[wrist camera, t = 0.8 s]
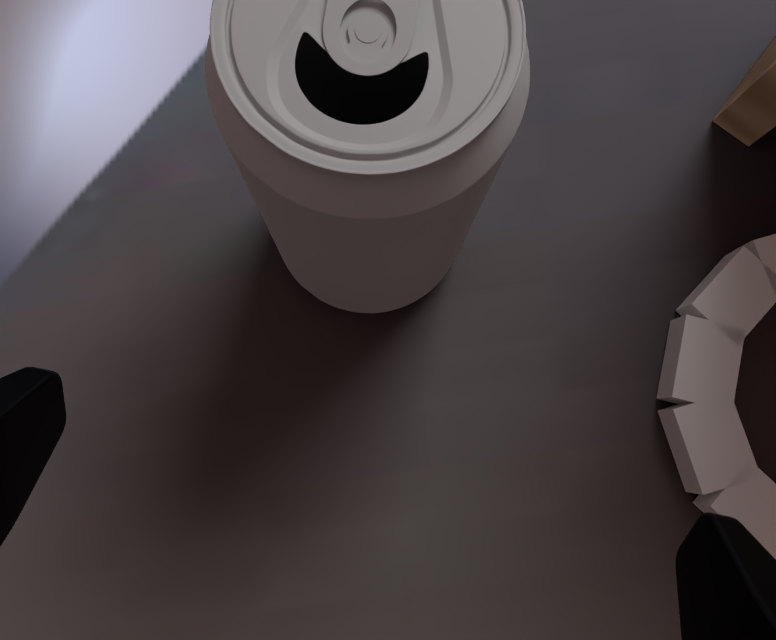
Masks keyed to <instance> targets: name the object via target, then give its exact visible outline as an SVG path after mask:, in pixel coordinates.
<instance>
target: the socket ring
mask: <svg viewBox="0 0 776 640" xmlns="http://www.w3.org/2000/svg"><path fill="white" fill-rule="evenodd" d="M775 303H776V234H773V235H770V236H766V237H763V238H759V239H755V240H753V241H751V242H749V243H747V244H745V245H743V246H741V247H739V248H737V249H735V251H733V252H731V253H729V254H727V255H725V256H724V257H723V258H722V259H721V261H720V262H719V263H718V264H717V265H716V266H715V267H714V268H713V269H712V270H711V272H710V273H709V274H708V275H707V276H706V277H705V278H704V279H703V280H702V282H701V283H700V284H699V285H698V286H697V287H696V288H695V289H694V290H693V291H692V293H691V294H690V295H689V296H688V297H687V298H686V299H685V300H684V301H683V303H682V304H681V305H680V306H679V307H678V308H677V309H676V310H675V311H676V312H677V313H678V314H680V315H681V317H678V318H676V319H673V320H670V326H669V331H668V337H667V342H666V348H665V353H664V359H663V364H662V370H661V376H660V381H659V387H658V392H657V398H656V399H660V400H663V401H667V402H671V403H675V404H678V405H674V406H671V407H668V408H664V409H661V410H657V411H658V414H659V417H660V420H661V423H662V425H663V428H664V431H665V434H666V437H667V440H668V443H669V446H670V449H671V451H672V454H673V457H674V460H675V463H676V466H677V469H678V472H679V475H680V477H681V480H682V483H683V486H684V489H685V492H689V493H695V494H699V495H698V496H697V498H696V499H695V500H694V501H693V502H692V503H693V504H695V505H696V506H697V507H698V508H699V509H700V510H701V511H702V512H703V513H706V512H711V513H716V514H720V515H725V516H730V517H733V518H735V519H737V520H738V521H739V522H740V523H742V524H743V526H744V527H745V528H746V529H747V530H748V531H749V532H750V533H751V534H752V535H753V536H754V537H755V538H756V539H757V540H758V541H759V542H760V543H761V545H762V546H763V547H764V548H765V549H766V550H767V551H768V552H769V553H770V554H771V555H772V556H773V557H774V558H775V559H776V484H775V483H774V482H773V481H772V480H771V479H770V478H769V477H768V476H767V475H766V474H765V473H764V472H762V471H761V470H760V469H759V468H758V467H757V464H756V461H755V458H754V456H753V453H752V450H751V448H750V445H749V442H748V439H747V437H746V434H745V431H744V428H743V426H742V423H741V420H740V417H739V415H738V412H737V409H736V406H735V404H734V398H735V392H736V386H737V380H738V373H739V367H740V361H741V355H742V348H743V342H744V338H745V337H746V336H747V335H748V334H749V332H750V331H751V330H752V329H753V328H754V327H755V326H756V325H757V323H758V322H759V321H760V320H761V319H762V318H763V317H764V315H765V314H766V313H767V312H768V311H769V310H770V309H771V307H772V306H773V305H774V304H775Z"/></svg>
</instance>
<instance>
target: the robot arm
mask: <svg viewBox="0 0 776 640" xmlns="http://www.w3.org/2000/svg"><path fill="white" fill-rule="evenodd" d="M65 423H66V410H65V402H64V394H63V387H62V380H61V377H60V376H59V374H58V373H56V372H54V371H50V370H45V369H41V368H36V367H25V368H23V369H20V370H18V371H15V372H13V373H11V374H9V375H6V376H4V377H2V378H0V546H1V545H2V543H3V542H4V540H5V538H6V537H7V535H8V534H9V532H10V531H11V529H12V527H13V526H14V524H15V522H16V520H17V518H18V517H19V515H20V513H21V511H22V509H23V507H24V505H25V504H26V502H27V500H28V498H29V496H30V494H31V492H32V490H33V488H34V486H35V484H36V483H37V481H38V479H39V477H40V475H41V473H42V471H43V469H44V467H45V465H46V463H47V462H48V460H49V458H50V456H51V454H52V452H53V450H54V448H55V446H56V444H57V442H58V441H59V439H60V437H61V435H62V433H63V430H64V427H65ZM676 578H677V590H678V602H679V614H680V625H681V637H682V640H776V559H775V558H774V557H773V556H772V555H771V554H770V553H769V552H768V551H767V550H766V549H765V548H764V547H763V546H762V545H761V543H760V542H759V541H758V540H757V539H756V538H755V537H754V536H753V535H752V534H751V533H750V532H749V531H748V530H747V529H746V528H745V527H744V526H743V524H742V523H740V522H739V521H738V520H737V519H735V518H733V517H730V516H725V515H720V514H716V513H711V512H706V513H704V514H702V515H700V517H699V518H698V519H697V521H696V522H695V524H694V525H693V527H692V528H691V530H690V532H689V533H688V535H687V536H686V538H685V539H684V541H683V542H682V544H681V545H680V547H679V549H678V552H677V555H676Z"/></svg>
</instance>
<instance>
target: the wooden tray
mask: <svg viewBox="0 0 776 640" xmlns="http://www.w3.org/2000/svg"><path fill="white" fill-rule="evenodd" d="M713 122H714V123H716V124H717V125H719V126H720V127H721V128H723V129H724V130H726V131H727V132H728V133H730V134H731V135H733V136H734V137H735V138H737V139H738V140H740V141H741V142H742V143H744V144H745V145H747V146H748V147H749V146H750V145H751V144H753V143H754V142H755V141H757V140H758V139H759V138H761V137H762V136H763V135H765V134H766V133H767V132H769V131H770V130H771V129H773V128H774V127H775V126H776V37H775V38H774V39H773V41H772V42H771V43H770V45H769V46H768V47H767V49H766V50H765V51H764V53H763V54H762V55H761V57H760V58H759V59H758V61H757V62H756V63H755V65H754V66H753V67H752V69H751V70H750V71H749V73H748V74H747V75H746V77H745V78H744V79H743V81H742V82H741V83H740V85H739V86H738V87H737V89H736V90H735V91H734V93H733V94H732V95H731V97H730V98H729V100H728V101H727V102H726V104H725V105H724V106H723V108H722V109H721V110H720V112H719V113H718V114H717V116H716V117H715V118H714V120H713Z"/></svg>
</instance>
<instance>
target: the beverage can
mask: <svg viewBox="0 0 776 640" xmlns="http://www.w3.org/2000/svg"><path fill="white" fill-rule="evenodd" d="M205 67H206V84H207V92H208V97H209V101H210V105H211V109H212V112H213V115H214V118H215V120H216V123H217V125H218V127H219V129H220V131H221V133H222V135H223V137H224V139H225V142H226V144H227V146H228V148H229V150H230V152H231V154H232V156H233V158H234V160H235V162H236V164H237V166H238V168H239V170H240V172H241V174H242V176H243V178H244V181H245V183H246V185H247V187H248V189H249V191H250V193H251V195H252V197H253V199H254V201H255V203H256V205H257V207H258V209H259V211H260V213H261V215H262V217H263V220H264V222H265V224H266V226H267V228H268V230H269V232H270V234H271V236H272V238H273V240H274V242H275V244H276V246H277V248H278V250H279V252H280V254H281V256H282V259H283V261H284V263H285V265H286V266H287V268H288V270H289V271H290V273H291V274H292V275H293V277H294V278H295V279H296V281H297V282H298V283H299V284H300V285H302V286H303V287H304V288H305V289H306V290H307V291H309V292H310V293H311V294H312V295H314V296H315V297H316V298H318V299H319V300H321V301H323V302H325V303H327V304H329V305H331V306H334V307H336V308H339V309H343V310H346V311H351V312H358V313H380V312H387V311H392V310H395V309H399V308H402V307H404V306H406V305H409V304H411V303H413V302H415V301H417V300H418V299H420V298H422V297H423V296H424V295H426V294H427V293H428V292H430V291H431V290H432V289H433V288H434V287H435V286H436V285H437V284H438V283H439V282H440V281H441V280H442V279H443V277H444V276H445V275H446V273H447V272H448V270H449V269H450V267H451V266H452V264H453V262H454V260H455V257H456V255H457V253H458V251H459V249H460V247H461V245H462V243H463V241H464V239H465V237H466V235H467V233H468V231H469V229H470V226H471V224H472V222H473V220H474V218H475V216H476V214H477V212H478V210H479V208H480V206H481V204H482V202H483V200H484V198H485V196H486V193H487V191H488V189H489V187H490V185H491V183H492V181H493V179H494V177H495V175H496V173H497V171H498V169H499V167H500V165H501V163H502V160H503V158H504V156H505V154H506V152H507V150H508V148H509V146H510V144H511V142H512V140H513V138H514V136H515V134H516V131H517V129H518V127H519V125H520V122H521V120H522V117H523V114H524V111H525V107H526V102H527V98H528V94H529V84H530V61H529V51H528V46H527V41H526V25H525V15H524V9H523V4H522V0H213V2H212V8H211V16H210V35H209V39H208V44H207V52H206V63H205Z"/></svg>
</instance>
